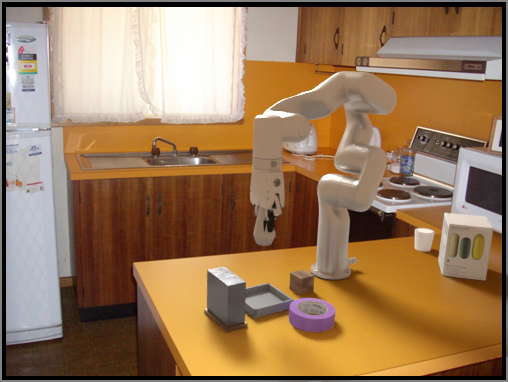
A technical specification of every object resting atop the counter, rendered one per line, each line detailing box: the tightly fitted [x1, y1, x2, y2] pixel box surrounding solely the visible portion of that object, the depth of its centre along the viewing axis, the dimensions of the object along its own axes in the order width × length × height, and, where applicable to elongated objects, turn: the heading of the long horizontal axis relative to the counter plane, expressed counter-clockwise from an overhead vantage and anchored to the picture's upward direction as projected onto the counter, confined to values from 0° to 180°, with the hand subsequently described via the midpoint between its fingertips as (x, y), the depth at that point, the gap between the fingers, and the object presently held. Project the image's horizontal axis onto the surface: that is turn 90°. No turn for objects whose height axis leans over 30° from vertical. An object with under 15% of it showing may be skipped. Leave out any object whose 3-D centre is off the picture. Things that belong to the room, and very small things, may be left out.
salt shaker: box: [253, 201, 276, 247], centre depth 136 cm, size 6×6×13 cm
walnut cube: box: [289, 269, 315, 296], centre depth 151 cm, size 5×5×5 cm
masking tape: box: [288, 297, 336, 333], centre depth 133 cm, size 12×12×4 cm
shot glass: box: [414, 227, 436, 253], centre depth 187 cm, size 7×7×7 cm
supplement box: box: [437, 212, 494, 281], centre depth 167 cm, size 13×13×18 cm
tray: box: [245, 282, 295, 319], centre depth 142 cm, size 12×12×2 cm
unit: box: [203, 266, 249, 333], centre depth 131 cm, size 6×12×12 cm, turn 32°
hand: (264, 231), depth 137 cm, fingers closed on salt shaker, 3 cm apart
